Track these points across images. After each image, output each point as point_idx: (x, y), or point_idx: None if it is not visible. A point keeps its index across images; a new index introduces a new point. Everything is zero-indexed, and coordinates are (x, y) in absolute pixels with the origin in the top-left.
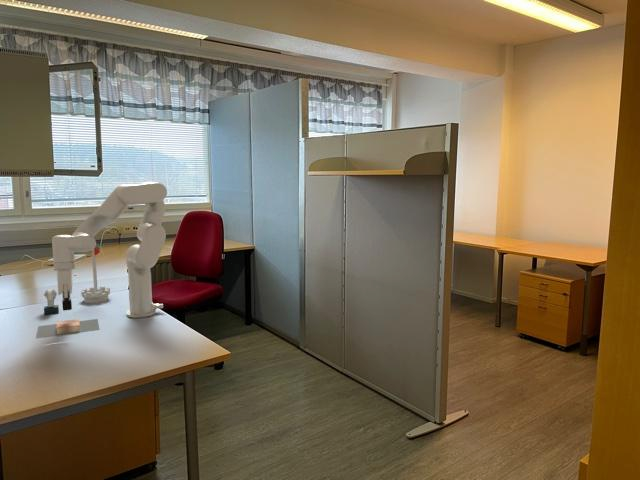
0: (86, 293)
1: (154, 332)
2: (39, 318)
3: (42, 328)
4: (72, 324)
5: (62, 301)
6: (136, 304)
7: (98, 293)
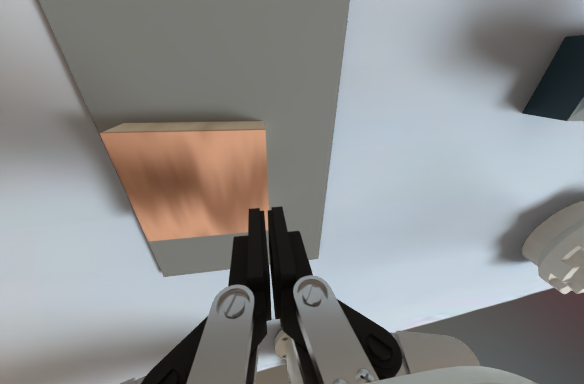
0: None
1: (117, 372)
2: (535, 4)
3: (280, 26)
4: (168, 212)
5: (247, 274)
6: (295, 379)
7: (562, 268)
